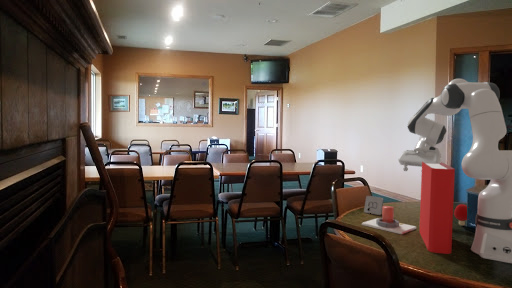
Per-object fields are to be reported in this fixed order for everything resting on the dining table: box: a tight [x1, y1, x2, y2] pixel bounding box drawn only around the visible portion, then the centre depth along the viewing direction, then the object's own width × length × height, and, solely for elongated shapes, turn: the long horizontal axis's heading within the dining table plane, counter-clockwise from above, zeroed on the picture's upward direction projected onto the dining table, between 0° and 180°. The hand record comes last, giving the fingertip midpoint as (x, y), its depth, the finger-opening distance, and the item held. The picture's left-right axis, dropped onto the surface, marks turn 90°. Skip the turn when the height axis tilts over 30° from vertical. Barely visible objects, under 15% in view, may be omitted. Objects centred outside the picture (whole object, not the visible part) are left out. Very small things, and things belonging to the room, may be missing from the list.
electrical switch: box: [363, 195, 384, 216], centre depth 204 cm, size 9×5×9 cm, turn 49°
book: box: [419, 161, 456, 255], centre depth 154 cm, size 27×8×32 cm, turn 163°
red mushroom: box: [453, 203, 468, 227], centre depth 180 cm, size 9×7×10 cm
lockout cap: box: [381, 205, 395, 223], centre depth 177 cm, size 5×5×8 cm
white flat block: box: [361, 217, 417, 235], centre depth 177 cm, size 20×14×3 cm
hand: (413, 171), depth 192 cm, fingers open, 8 cm apart
